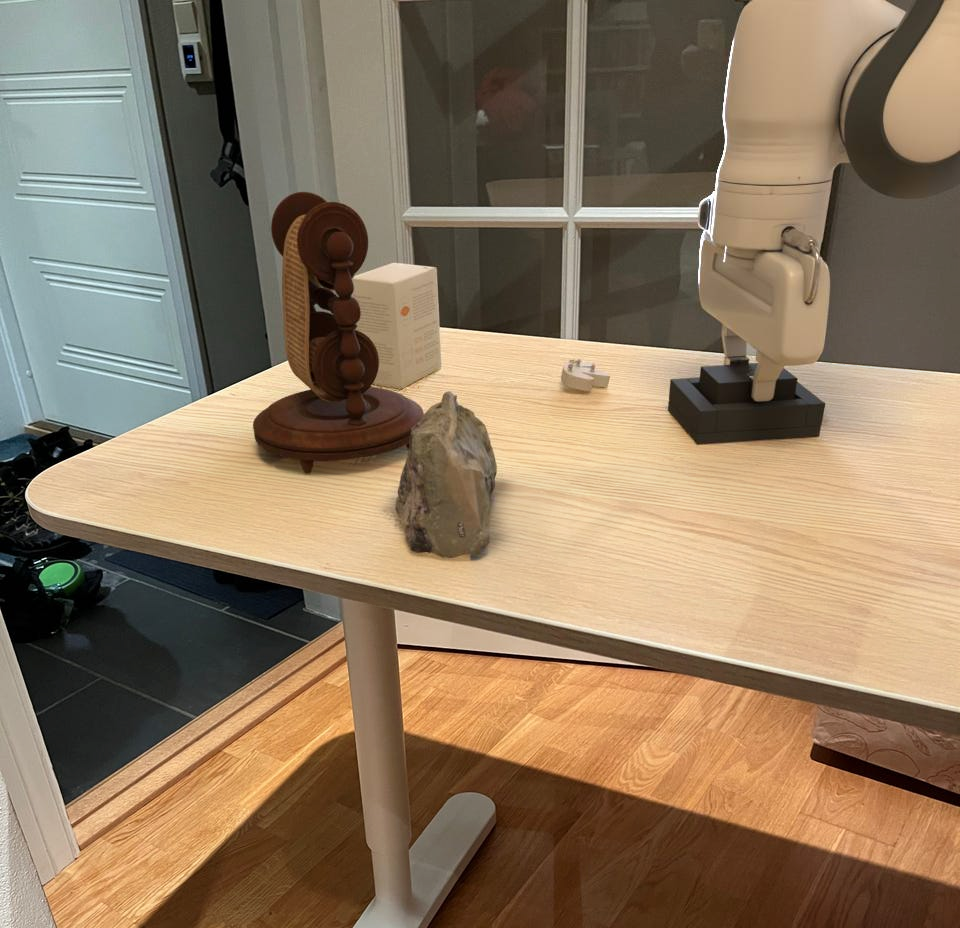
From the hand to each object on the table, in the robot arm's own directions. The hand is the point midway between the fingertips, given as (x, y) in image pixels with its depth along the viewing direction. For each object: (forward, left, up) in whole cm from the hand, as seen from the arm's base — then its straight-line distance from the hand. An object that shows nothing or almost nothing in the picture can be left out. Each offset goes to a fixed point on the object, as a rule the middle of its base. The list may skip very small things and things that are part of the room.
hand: (746, 387), depth 83 cm
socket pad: (0, 0, -3) cm, 3 cm away
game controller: (+15, -14, -4) cm, 21 cm away
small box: (+30, -20, -4) cm, 36 cm away
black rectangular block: (0, 0, -2) cm, 2 cm away
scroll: (+36, -1, -4) cm, 36 cm away
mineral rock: (+27, +16, -4) cm, 32 cm away
